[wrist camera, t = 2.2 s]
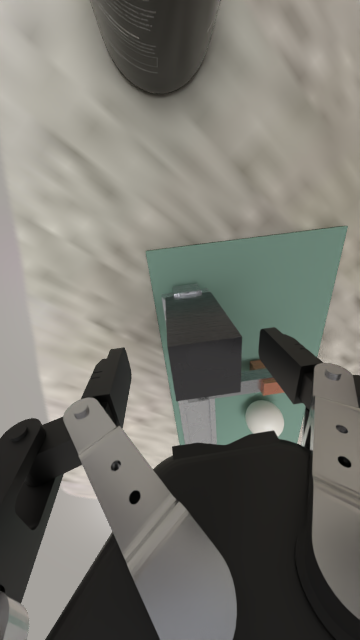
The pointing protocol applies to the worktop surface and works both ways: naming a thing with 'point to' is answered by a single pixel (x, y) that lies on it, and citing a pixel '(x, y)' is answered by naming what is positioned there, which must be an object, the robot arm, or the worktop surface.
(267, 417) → the ball
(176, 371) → the block
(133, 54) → the supplement bottle
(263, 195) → the worktop surface
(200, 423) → the rail
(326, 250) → the field
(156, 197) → the worktop surface
